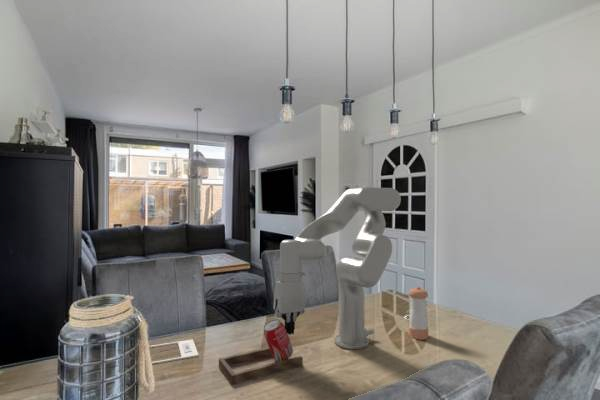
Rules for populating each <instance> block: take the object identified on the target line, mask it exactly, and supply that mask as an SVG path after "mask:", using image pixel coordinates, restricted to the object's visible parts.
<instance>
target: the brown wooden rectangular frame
mask: <svg viewBox="0 0 600 400" xmlns="http://www.w3.org/2000/svg"><path fill="white" fill-rule="evenodd" d="M267 357H273V356H272V354H271V351H270V349H269V346H268V347H264V348H258V349H255V350H251V351H246V352H242V353H237V354H233V355H229V356H224V357H220V358H218V368H219V369H220V370H221V371H222V374H224V376H225V377H226V378H227V380H228V381H229V383H230V384H231V385H236V384H240V383H243V382H247V381H250V380H254V379H257V378H261V377H265V376H269V375H273V374H277V373H280V372H284V371H288V370H290V369H294V368H298V367H302V366H303V363H304V362H303V359H304V358H303V356H301V355H299V356H295V357H292V358H291V357H290V358H289V359H287V360H283V361H276V362H272V363H268V364H265V365H261V366H256V367H253V368H249V369H245V370H241V371H236V372H235V371H234V370H233V369H232V367H231V366H234V365H239V364H242V363H246V362H251V361H256V360H259V359H263V358H267Z"/></svg>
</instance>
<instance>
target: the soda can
mask: <svg viewBox="0 0 600 400" xmlns="http://www.w3.org/2000/svg"><path fill="white" fill-rule="evenodd" d="M263 335H264V339H265V341H266V344H267V346H268V347H269V349H270V351H271V354H272V356H271V357H272V358H273V360H274V361H276V362H279V361H283V360H287V359H291V357H292V355H293V354H294V348H293V344H292V342H291V340H290V337H289V334H288V333H287V331H286V329H285V324H284V323H282V321H281V320H280V319H278V318H277V319H276V318H275V319H271V320H269V321H267V322H266V323H265V324H264V326H263Z"/></svg>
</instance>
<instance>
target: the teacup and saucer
mask: <svg viewBox="0 0 600 400" xmlns="http://www.w3.org/2000/svg"><path fill="white" fill-rule="evenodd" d="M410 311H411V308H410V309H409V310H407V311H406V315H404V316H403V318H404V319H405V320H407V321H410V314H408V312H409V313H410ZM407 316H409V318H408V317H407ZM406 317H407V318H408V319H407V318H406Z"/></svg>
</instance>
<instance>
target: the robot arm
mask: <svg viewBox="0 0 600 400" xmlns="http://www.w3.org/2000/svg"><path fill="white" fill-rule="evenodd" d="M401 201H402V198H401V194H400V192H399V191H398V190H397V189H395V188H393V187H374V186H373V187H371V186H369V187H368V186H363V187H350V188H348V189H347V190H345V191H344V192H343V193H342V194H341V195H340V197H338V199H337V200H336V201H335V202H334V203H333V205H332V206H331V207H330V208H329V209H328V210H327V212H325V213H324V214H322V215H321V216H319V217H318V218H317V219H315V220H314V221H312V222H310V223H309V224H308V225H306V226H305V227H304V228H303V229H302V231H301V232H299V234H298V235H297V236H296V238H295V239H284V240H282V241H281V242H280V243H279V278H278V279H279V280H277V281H276V284H275V289H274V295H273V310H274V311H275V312H274V317H276V318H281V319H283V320H284V327H285V329H286V331H287V334H288V336H289V335H294V334H295V330H296V321H297V319H298V318H299V315H302V314H304V313H305V309H306V288H305V283H304V280H303V278H304V277H305V276H306V274H305V272H303V262H312V263H316V262H319V261H322V260H323V259H324V258H325V257H326V255H327V247H326V245H325V243H323V241H321V239H322V238H324V237H326V236H328V235H331V234H336V233H338V232H339V231H343V230H344V229H345V228H346V226H347V225H348V224H350V222H351V221H352V219H353V218H354V217H355V216H356V214H357V213H358V212H360V211H364V220H363V223H362V225H361V226H360V228H359V231H358V232H357V234H356V237H355V238H354V240H353V242H352V244H351V247H352V248H351V249H352V252H353V253H354V254H355V255H356V256H358V257H355V256H344V257H342V258H341V259H339V261H338V263H337V264H336V268H335V269H336V271H335V272H336V273H335V274H336V278H337V284H338V335H336V336H335V337H334V343H335V345H337V346H339V347H340V348H344V349H349V350H361V349H365V348H366V347H368V346H369V343H370V340H369V338H368V336H370V335H373V334H375V330H374V329H373V328H369V329H367V327H365V325H366V324H365V320H366V319H365V314H366V313H365V312H366V311H365V306H366V305H365V302H366V299H365V290H364V288H374V286H376V285H377V284H378V282H379V281H380V279H381V277H382V276H383V274H384V272H385V270H386V267H387V265H388V263H389V261H390V259H391V256H392V254H393V243H392V241H391V239H390V237H388V236H387V235H385V234H384V232H385V229H386V220H385V219H386V218H385V216H384V213H383V212H385V211H386V212H388V211H390V212H392V211H395V210H397V208H398V207H400V205H401Z"/></svg>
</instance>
